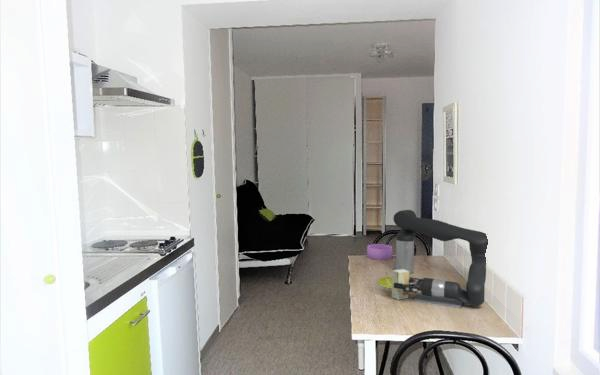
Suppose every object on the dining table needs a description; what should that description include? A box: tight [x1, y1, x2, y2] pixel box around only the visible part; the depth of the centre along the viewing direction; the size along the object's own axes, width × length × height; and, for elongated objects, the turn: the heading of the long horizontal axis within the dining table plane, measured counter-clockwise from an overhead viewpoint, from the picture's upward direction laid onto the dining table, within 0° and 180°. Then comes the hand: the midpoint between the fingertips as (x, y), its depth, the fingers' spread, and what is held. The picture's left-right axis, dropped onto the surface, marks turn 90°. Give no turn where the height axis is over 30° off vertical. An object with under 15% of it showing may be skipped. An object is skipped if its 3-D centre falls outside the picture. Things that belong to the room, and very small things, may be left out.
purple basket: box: [366, 243, 394, 261], centre depth 274 cm, size 25×15×13 cm, turn 76°
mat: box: [413, 291, 464, 309], centre depth 197 cm, size 16×19×1 cm
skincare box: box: [391, 269, 410, 301], centre depth 198 cm, size 6×4×12 cm
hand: (396, 282), depth 199 cm, fingers open, 8 cm apart
